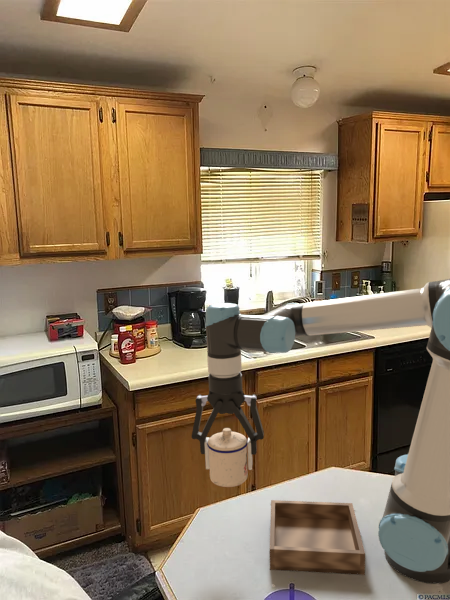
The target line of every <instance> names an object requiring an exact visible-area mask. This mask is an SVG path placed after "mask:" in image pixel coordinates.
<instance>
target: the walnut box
mask: <svg viewBox="0 0 450 600" xmlns="http://www.w3.org/2000/svg"><path fill="white" fill-rule="evenodd" d="M269 527H270V528H269V530H270V531H269V570H270V571H283V572H284V571H285V572H286V571H287V572H288V571H289V572H303V573H304V572H305V573H320V574H323V573H324V574H340V575H359V576H365V574H366V573H365V572H366V551H365V548H364V544H363V540H362V536H361V532H360V529H359V524H358V519H357V516H356V512H355V507H354V505H353V503H352V502H332V501H331V502H329V501H325V502H324V501H307V500H305V501H303V500H302V501H301V500H281V499H280V500H279V499H275V500H274V499H271V500H270V526H269Z"/></svg>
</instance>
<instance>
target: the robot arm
mask: <svg viewBox="0 0 450 600" xmlns="http://www.w3.org/2000/svg"><path fill="white" fill-rule="evenodd" d="M422 326H427V327H429V328H431V329H430V332H429V336H428V341H427V345H426V350H427V352H428V353H429V355H430V356H431V357H432V363H431V367H430V370H429V374H428V377H427V381H426V386H425V388H424V389H425V390H424V393H423V398H422V401H421V404H420V409H419V412H418V414H417V415H418V416H417V419H416V424H415V427H414V431H413V434H412V438H411V442H410V446H409V450H408V452H407V454H403V455H400V456H399V457H397V458H396V460H395V465H394V468H393V470H394V477H393V478H392V481H391V485H390V489H389V493H388V495H387V500H386V504H385V507H384V511H383V514H382V518H381V519H380V520H379V523H378V535H377V536H378V541H379V544H380V546H381V547H382V549H383V550H384V557H385V559H386V560H387V562H388V563H389V565H390V566H391V567H392V568H393V569H394V570H395V571H396V572H398V573H399V574H401V575H403V576H404V577H406V578H409V579H411V580H413V581H416V582H421V583H426V584H442V583H446V582H449V581H450V278H445V279H442V280H441V279H440V280H435V281H429V282H426V283H425V285H424V286H423V287H420V288H414V289H413V288H412V289H405V290H398V291H389V292H382V293H373V294H365V295H358V296H350V297H342V298H333V299H328V300H327V299H326V300H318V301H311V302H305V303H297V302H289V303H283V304H282V305H280V306H279V307H277V308H275V309H273V310H271V311H269V312H266V313H264V314H261V315H260V314H259V315H258V314H257V315H255V314H244V313H241V310H240V306H239V305H238V304H236V303H232V302H222V303H221V302H220V303H219V302H218V303H213V304H210V305H209V306H207V307H206V309H205V324H204V327H205V334H206V347H207V348H206V349H207V354H206V355H207V356H206V358H207V372H208V373H209V374H208V394H207V395H202V394H198V395H197V396H196V398H195V406H196V410H195V415H194V416H195V417H194V422H193V426H192V432H191V439H193V440H198V441H199V447H200V449H199V451H200V454H201V455H204V456H205V470H210V467H209V447H208V445H207V443H208V440H209V438H210V437H208V435H209V432H210V430H211V428H212V426H213V423H214V422H215V420H216V418H217V417H218V416H217V415H218V414H220V415H224V414H229V415H233V414H234V416H235V417H236V418H237V419H238V421H239V423H240V424H241V427H242V428H243V430H244V431H245V434H246V435H247V437H248V438H247V442H248V443H247V471H248V470H249V471H251V470H253V455H254V456H255V455H257V453H258V452H257V451H258V450H257V448H258V445H257V441H259V440H261V441H262V440H264V438H265V430H264V428H263V424H262V420H261V418H260V413H259V409H258V405H257V394H255V393H253V394H252V395H249V394H248V395H247V394H245V393H244V391H243V374H242V370H243V367H242V350H246V351H247V350H248V351H254V352H255V351H256V352H263V353H264V352H265V353H270V354H280V353H281V354H285V353H288V352H290V351H291V350H292V348H293V346H294V344H295V339H296V338H301V337H309V336H319V335H330V334H342V333H353V332H363V331H364V332H365V331H376V330H386V329H387V330H389V329H400V328H409V327H410V328H411V327H412V328H413V327H422ZM207 402H208V403H209V404H210V406H211V407H212V408H213V409H212V411H211V412H210V415H209V417H208V418H207V421H206V423H205V425H204V427H203V430H202V432H201V431H200V427H201V426H200V425H201V420H202V415H203V412H204V407H205V406H206V404H207ZM244 402H246V404H247V406H248V407H249V408H250V412H251V416H252V419H253V424H254V426H255V430H256V432H255V430H254V429H253V426H252V425H251V423H250V421H249V419H248V417H247V416H246V415H245V413H244V411H243V408H242V405H243V404H244Z"/></svg>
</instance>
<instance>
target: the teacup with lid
mask: <svg viewBox="0 0 450 600" xmlns="http://www.w3.org/2000/svg"><path fill="white" fill-rule="evenodd" d="M247 443H248V438H247V437H246V436H245V435H244V434H242V433H239V432H236V431H232V428H230V427H224V428H223V429H222V431H221V432H217V433H214V434H212V435H211V436H210V437H209V440H208V443H207V445H208V447H209V467H210V468H209V479H210V481H211V482H212V483H213V484H214V485H216V486H218V487H223V488H225V487H226V488H232V487H237V486H240V485H242V484H243V483H245V481H246V480H247V479H248V476H249V475H248V445H247Z"/></svg>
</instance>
